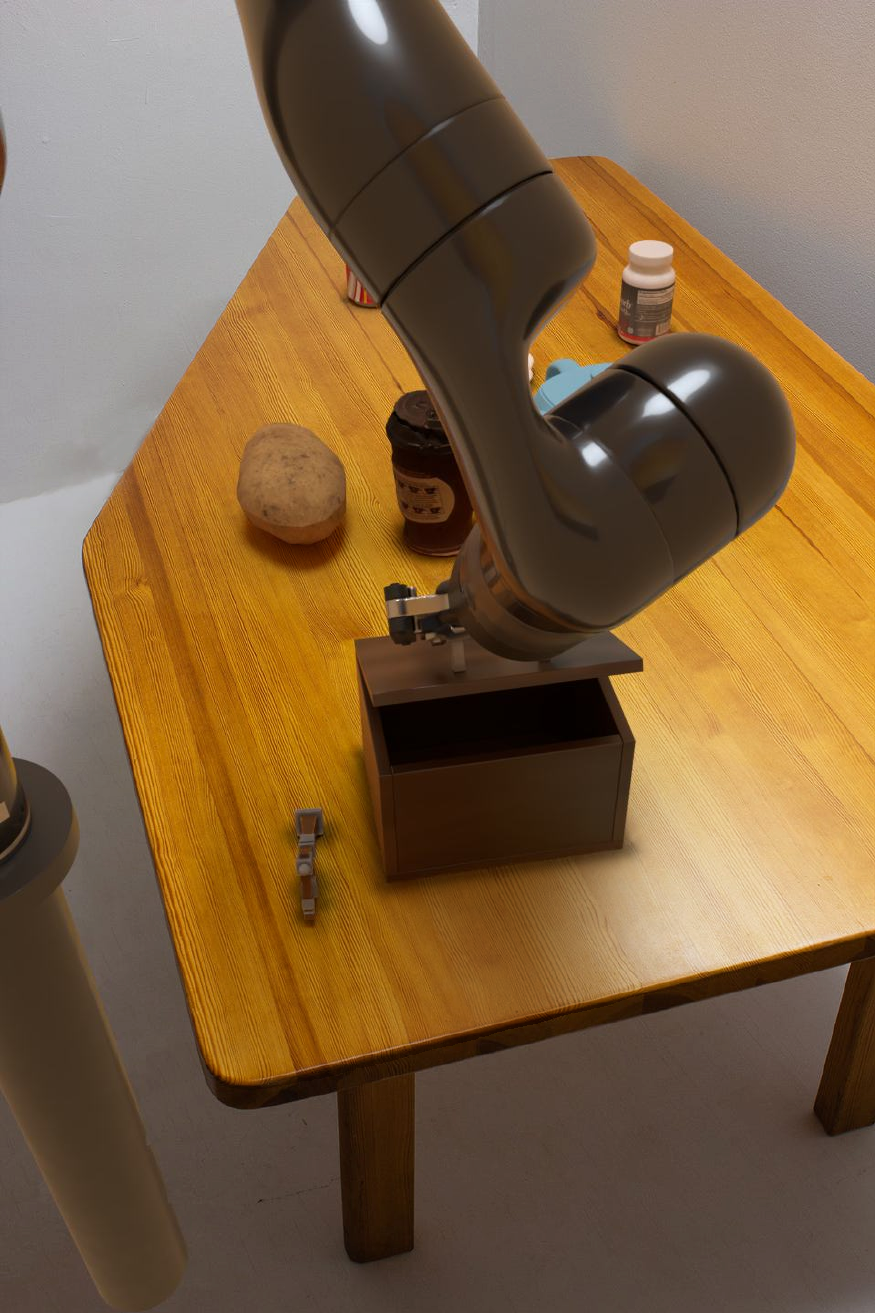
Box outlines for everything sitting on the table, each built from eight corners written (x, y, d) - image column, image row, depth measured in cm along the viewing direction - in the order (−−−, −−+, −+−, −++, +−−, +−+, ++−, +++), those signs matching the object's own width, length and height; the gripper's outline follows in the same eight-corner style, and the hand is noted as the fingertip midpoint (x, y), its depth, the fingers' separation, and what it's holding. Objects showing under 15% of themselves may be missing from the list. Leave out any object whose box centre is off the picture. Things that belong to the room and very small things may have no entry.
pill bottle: (613, 324, 137) (620, 238, 131) (663, 322, 137) (673, 236, 131) (621, 348, 133) (629, 259, 126) (673, 346, 133) (683, 257, 126)
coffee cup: (446, 579, 101) (444, 443, 93) (370, 545, 105) (361, 412, 97) (506, 530, 107) (509, 398, 98) (431, 500, 111) (428, 370, 102)
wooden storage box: (622, 848, 79) (636, 740, 73) (386, 883, 77) (378, 776, 71) (577, 726, 88) (585, 621, 81) (363, 755, 86) (354, 650, 80)
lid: (643, 671, 69) (639, 583, 68) (373, 707, 67) (363, 617, 66) (586, 622, 81) (581, 545, 80) (355, 651, 79) (346, 573, 78)
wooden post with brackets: (293, 928, 74) (287, 860, 72) (299, 868, 81) (294, 806, 80) (323, 926, 74) (318, 858, 72) (326, 867, 81) (321, 804, 80)
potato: (255, 584, 102) (243, 503, 96) (231, 495, 112) (220, 418, 107) (369, 563, 103) (363, 484, 98) (335, 478, 114) (328, 402, 108)
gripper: (679, 476, 57) (597, 547, 74) (376, 508, 55) (362, 573, 72) (704, 633, 56) (615, 669, 73) (397, 670, 55) (378, 698, 71)
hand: (489, 621), depth 72 cm, fingers closed on lid, 6 cm apart
